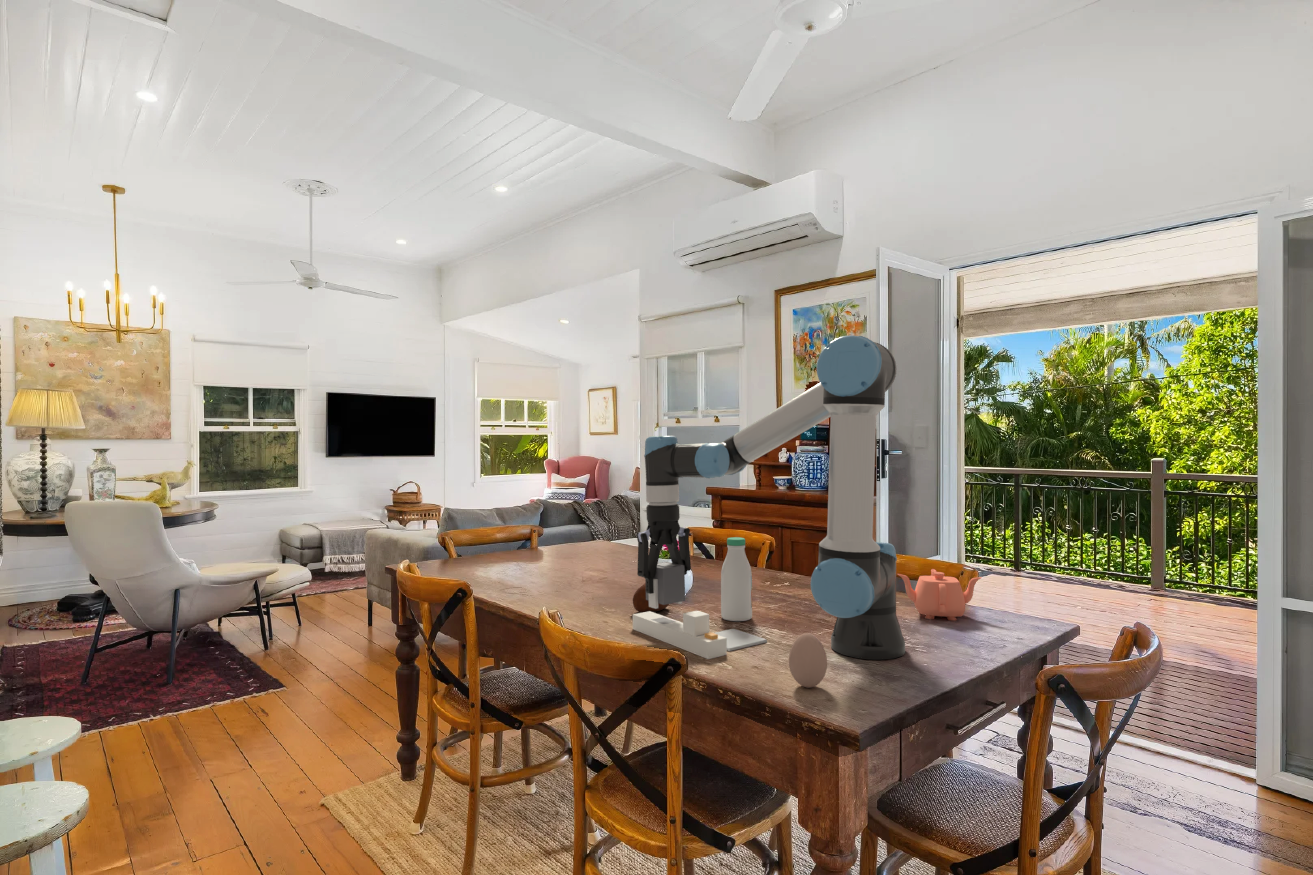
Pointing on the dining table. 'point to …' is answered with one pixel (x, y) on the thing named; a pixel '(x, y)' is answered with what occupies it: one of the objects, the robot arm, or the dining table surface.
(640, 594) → the potato
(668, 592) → the block
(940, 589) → the teapot
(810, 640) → the egg
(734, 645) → the mat
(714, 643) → the power strip
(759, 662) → the dining table surface
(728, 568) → the milk bottle
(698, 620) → the white plug
